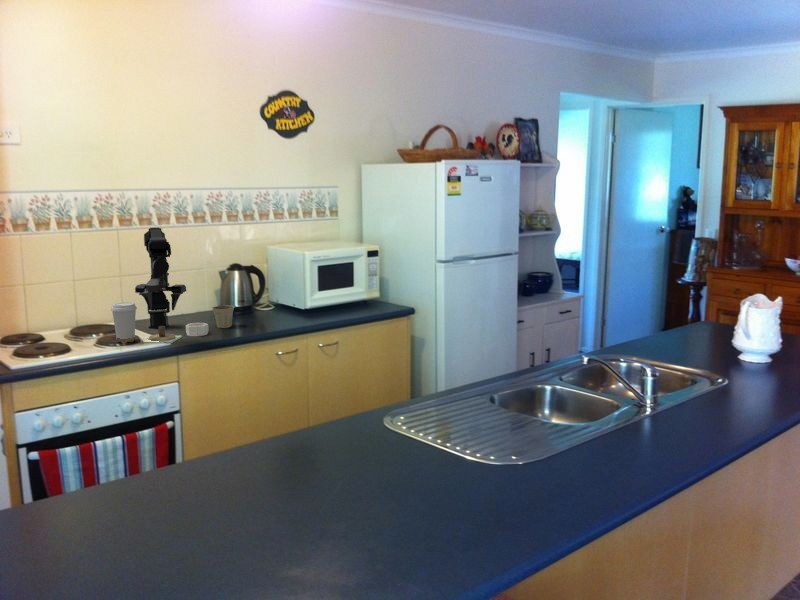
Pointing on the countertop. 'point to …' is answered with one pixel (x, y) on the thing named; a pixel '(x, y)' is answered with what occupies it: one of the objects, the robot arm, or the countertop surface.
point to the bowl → (197, 329)
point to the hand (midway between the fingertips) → (161, 310)
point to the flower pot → (223, 315)
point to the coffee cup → (124, 319)
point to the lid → (162, 335)
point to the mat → (171, 340)
